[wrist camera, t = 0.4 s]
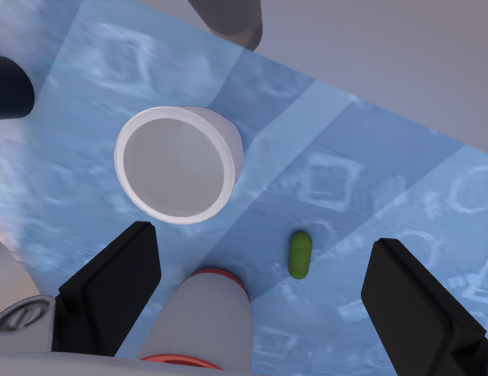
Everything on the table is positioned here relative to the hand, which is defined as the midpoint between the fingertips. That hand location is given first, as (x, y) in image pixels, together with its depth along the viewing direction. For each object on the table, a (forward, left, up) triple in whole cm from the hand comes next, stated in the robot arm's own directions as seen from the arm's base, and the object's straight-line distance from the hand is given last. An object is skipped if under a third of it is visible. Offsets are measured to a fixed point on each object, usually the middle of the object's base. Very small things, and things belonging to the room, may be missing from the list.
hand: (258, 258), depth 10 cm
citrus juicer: (+27, -9, -25) cm, 38 cm away
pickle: (+16, +6, -25) cm, 30 cm away
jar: (-1, -8, -25) cm, 26 cm away
